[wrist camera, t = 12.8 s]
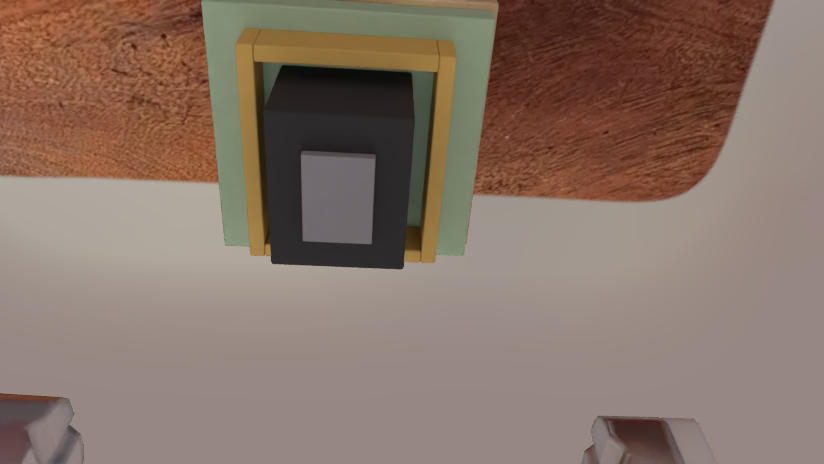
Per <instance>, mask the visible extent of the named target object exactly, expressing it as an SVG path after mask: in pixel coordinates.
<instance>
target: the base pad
mask: <svg viewBox="0 0 824 464" xmlns="http://www.w3.org/2000/svg"><path fill="white" fill-rule="evenodd" d="M201 4H202V15H203V25H204V35H205V45H206V56H207V66H208V76H209V86H210V97H211V107H212V117H213V127H214V138H215V148H216V158H217V168H218V179H219V189H220V198H221V209H222V220H223V230H224V240H225V245H227V246H248V247H250V254H251V255H255V256H264V255H265V254H266V256H271V249H270V230H269V211H268V193H267V174H266V155H265V136H264V118H263V111H264V108H265V106H266V103H267V101H268V98H269V96H270V93H271V91H272V88H273V86H274V83H275V81H276V78H277V75H278V73H279V70H280V68H281V66H282V65H289V66H306V67H323V68H340V69H357V70H374V71H391V72H408V73H411V74H412V82H413V97H414V112H415V127H414V140H413V152H412V165H411V178H410V191H409V204H408V217H407V230H406V242H405V255H404V262H420V261H421V262H422V263H434V262H435V256H436V255H457V256H463V254H464V249H465V242H466V235H467V227H468V220H469V213H470V205H471V198H472V190H473V183H474V176H475V168H476V161H477V154H478V146H479V139H480V131H481V124H482V117H483V109H484V102H485V94H486V87H487V80H488V72H489V65H490V58H491V50H492V43H493V35H494V28H495V18H494V16H493V14H492V11H490V10H476V9H461V8H445V7H429V6H414V5H398V4H383V3H367V2H352V1H336V0H202V2H201Z"/></svg>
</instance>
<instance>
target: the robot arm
mask: <svg viewBox="0 0 824 464" xmlns="http://www.w3.org/2000/svg"><path fill="white" fill-rule="evenodd" d="M73 416H74V411H73V408H72V406H71V403H70V400H69V399H68V398H63V397H48V396H33V395H17V394H1V393H0V464H83V461H84V447H83V446H84V445H83V441H82V438H81V434H80V433H79V432H78V431H76V430H75V429H74V428H73V427H71V426H70V425H69V423H70V421H71V420H72V418H73ZM591 435H592V439H593V443H594V444H593V445H592V446H591V447H590V448H588V449H586V450H585V451H584V455H583V459H582V463H581V464H718V463H717V461H716V459H715V457H714V455H713V452H712V450H711V448H710V446H709V444H708V442H707V440H706V438H705V436H704V433H703V431H702V429H701V427H700V425H699V424H698V423H697V422H696V421H695V420H694V419H684V418H658V417H624V416H623V417H622V416H598V417H597V419H596V420H595V421H594V423H593V426H592V429H591Z"/></svg>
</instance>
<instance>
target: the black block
mask: <svg viewBox="0 0 824 464" xmlns="http://www.w3.org/2000/svg"><path fill="white" fill-rule="evenodd" d="M263 118H264V136H265V155H266V174H267V193H268V211H269V230H270V249H271V262H272V263H273V264H288V265H312V266H335V267H360V268H382V269H403V267H404V255H405V242H406V230H407V217H408V204H409V191H410V178H411V165H412V152H413V140H414V127H415V112H414V97H413V82H412V74H411V73H408V72H391V71H374V70H357V69H340V68H323V67H306V66H289V65H282V66H281V68H280V70H279V73H278V75H277V78H276V81H275V83H274V86H273V88H272V91H271V93H270V96H269V98H268V101H267V103H266V106H265V108H264V111H263Z"/></svg>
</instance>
